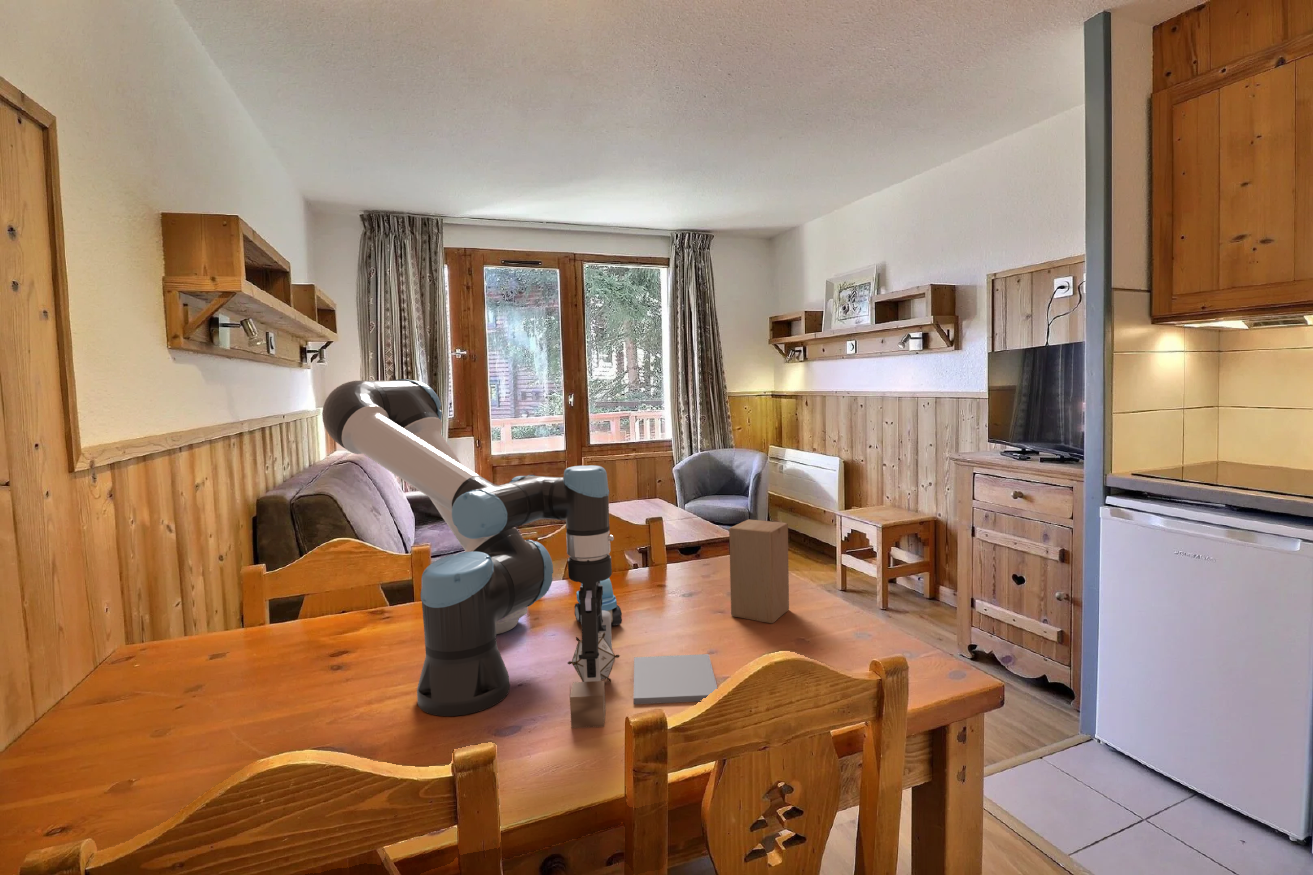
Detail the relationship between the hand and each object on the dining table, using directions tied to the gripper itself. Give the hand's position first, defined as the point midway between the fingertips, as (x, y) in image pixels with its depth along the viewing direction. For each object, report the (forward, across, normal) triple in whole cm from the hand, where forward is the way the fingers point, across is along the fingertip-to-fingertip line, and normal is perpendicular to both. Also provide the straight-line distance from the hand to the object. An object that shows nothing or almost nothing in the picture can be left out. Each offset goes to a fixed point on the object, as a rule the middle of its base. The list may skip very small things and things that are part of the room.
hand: (594, 679), depth 116 cm
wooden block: (+1, +30, -35) cm, 46 cm away
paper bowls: (0, +28, +24) cm, 37 cm away
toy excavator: (0, +31, +2) cm, 31 cm away
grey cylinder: (0, +14, 0) cm, 14 cm away
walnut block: (0, -13, 0) cm, 13 cm away
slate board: (0, -1, -14) cm, 14 cm away
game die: (0, 0, 0) cm, 0 cm away
